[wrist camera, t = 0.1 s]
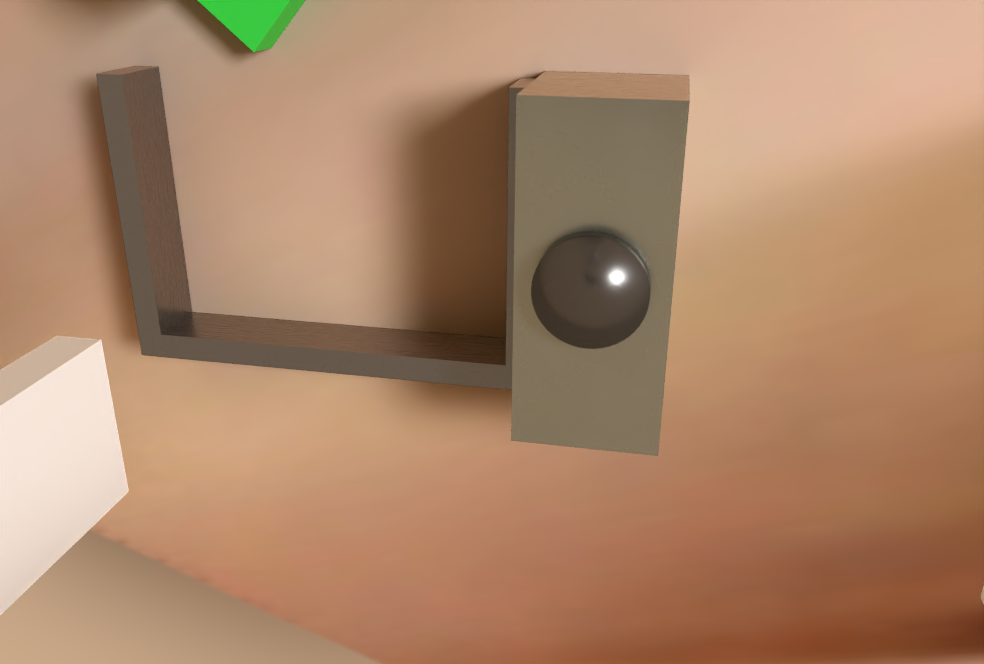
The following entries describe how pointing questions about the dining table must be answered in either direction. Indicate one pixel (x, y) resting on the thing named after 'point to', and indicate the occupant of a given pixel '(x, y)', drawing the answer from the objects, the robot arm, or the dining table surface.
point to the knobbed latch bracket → (530, 262)
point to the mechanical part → (254, 19)
